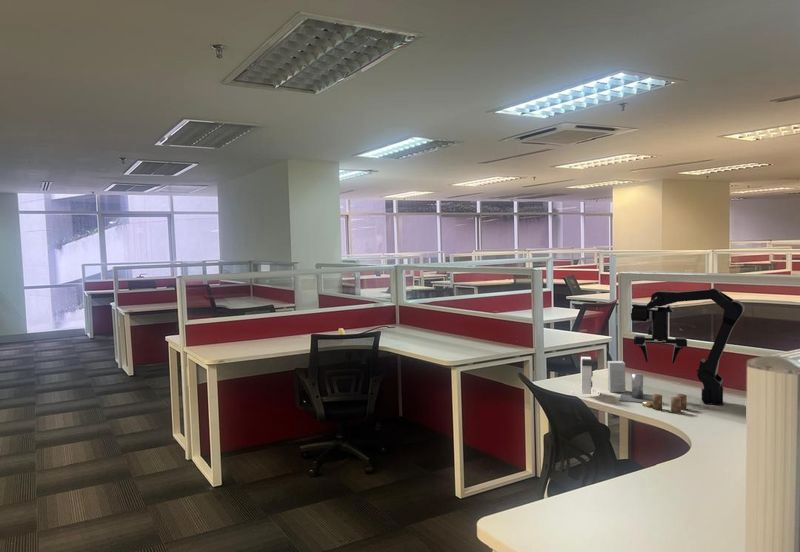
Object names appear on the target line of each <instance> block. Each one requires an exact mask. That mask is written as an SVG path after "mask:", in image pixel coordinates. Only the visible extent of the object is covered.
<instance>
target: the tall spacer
mask: <svg viewBox="0 0 800 552" xmlns="http://www.w3.org/2000/svg"><path fill="white" fill-rule="evenodd" d="M631 393H632V398H635V399H642V398H643V394H644V374H643V373H639V372H637V373H636V372H634V373H632V374H631Z"/></svg>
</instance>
